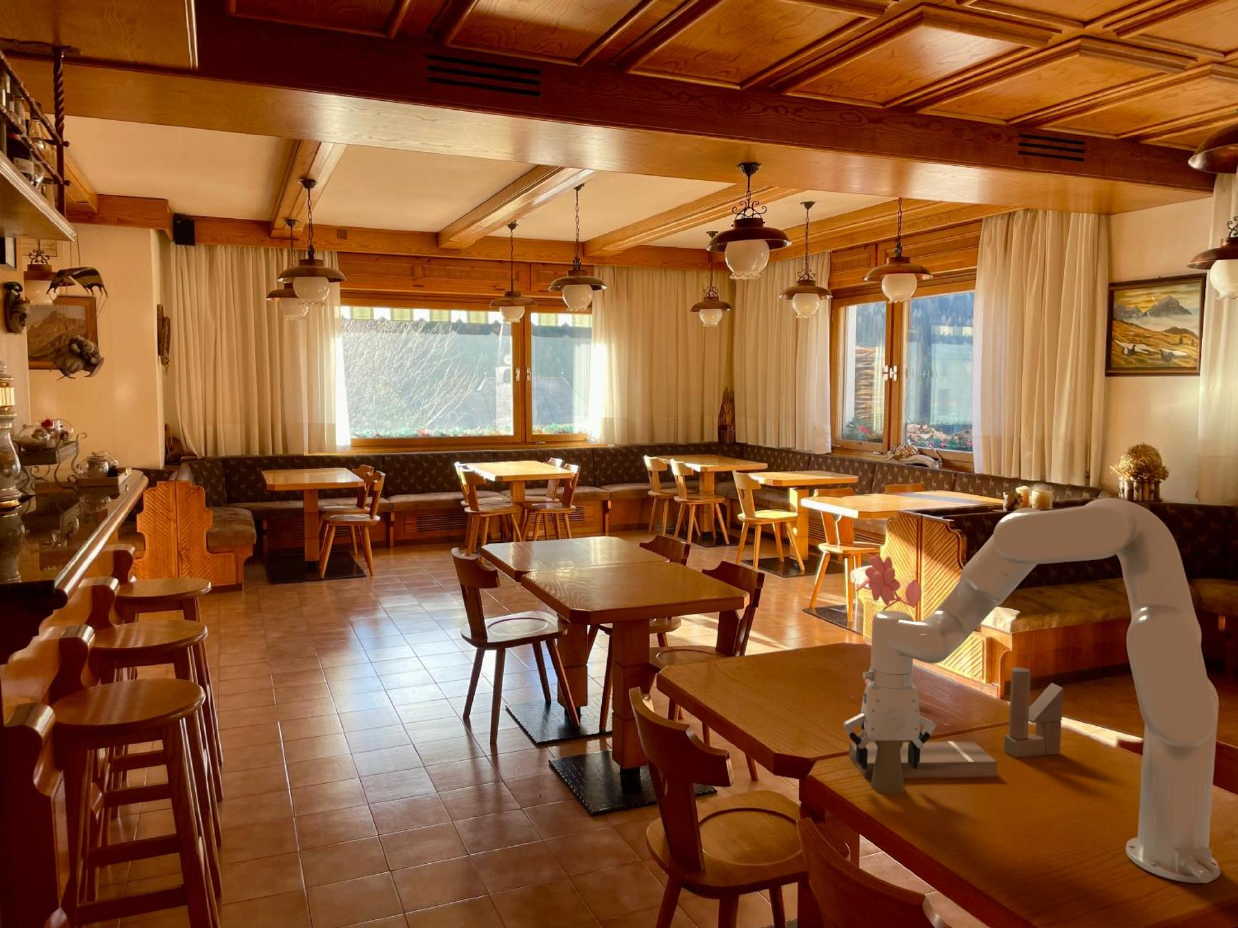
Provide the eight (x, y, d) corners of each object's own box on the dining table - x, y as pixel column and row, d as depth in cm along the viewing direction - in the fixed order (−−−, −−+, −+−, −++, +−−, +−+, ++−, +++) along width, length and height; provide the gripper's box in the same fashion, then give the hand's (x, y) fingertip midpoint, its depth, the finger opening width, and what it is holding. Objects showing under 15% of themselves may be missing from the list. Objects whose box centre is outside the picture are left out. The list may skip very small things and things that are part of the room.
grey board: (996, 776, 172) (996, 761, 172) (865, 778, 170) (865, 762, 170) (973, 755, 182) (973, 740, 182) (849, 756, 180) (849, 742, 180)
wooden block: (1060, 754, 183) (1064, 669, 181) (1014, 758, 181) (1018, 672, 179) (1048, 747, 186) (1052, 664, 185) (1003, 751, 184) (1007, 667, 183)
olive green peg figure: (867, 789, 166) (869, 732, 165) (874, 777, 171) (876, 722, 170) (900, 796, 163) (902, 739, 162) (906, 784, 168) (908, 728, 167)
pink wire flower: (872, 674, 234) (874, 544, 231) (936, 707, 210) (939, 562, 206) (821, 680, 229) (823, 548, 226) (881, 715, 205) (883, 567, 202)
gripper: (851, 684, 161) (848, 775, 162) (944, 684, 162) (940, 774, 163) (839, 671, 168) (836, 758, 170) (928, 671, 169) (924, 757, 171)
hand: (887, 765), depth 167 cm, fingers open, 9 cm apart
